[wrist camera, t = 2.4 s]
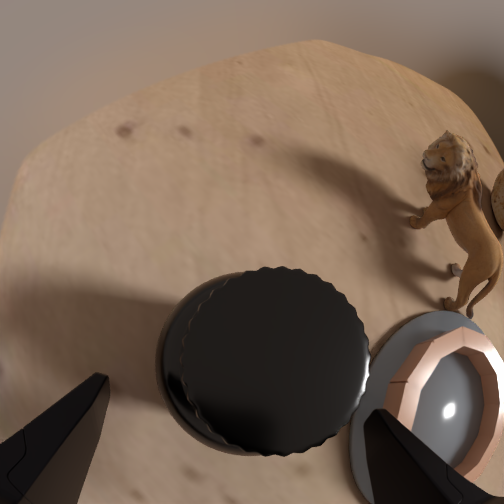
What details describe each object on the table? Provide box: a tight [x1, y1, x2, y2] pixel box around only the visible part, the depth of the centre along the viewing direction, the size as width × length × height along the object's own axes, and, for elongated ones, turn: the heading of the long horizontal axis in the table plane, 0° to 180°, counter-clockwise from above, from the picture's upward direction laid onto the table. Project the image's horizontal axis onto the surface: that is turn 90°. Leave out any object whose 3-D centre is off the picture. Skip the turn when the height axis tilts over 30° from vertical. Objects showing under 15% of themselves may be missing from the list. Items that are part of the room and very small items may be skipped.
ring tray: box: [349, 311, 504, 504], centre depth 17 cm, size 18×18×3 cm
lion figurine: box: [410, 130, 503, 319], centre depth 20 cm, size 15×5×9 cm, turn 24°
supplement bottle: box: [155, 266, 371, 457], centre depth 12 cm, size 7×7×12 cm
